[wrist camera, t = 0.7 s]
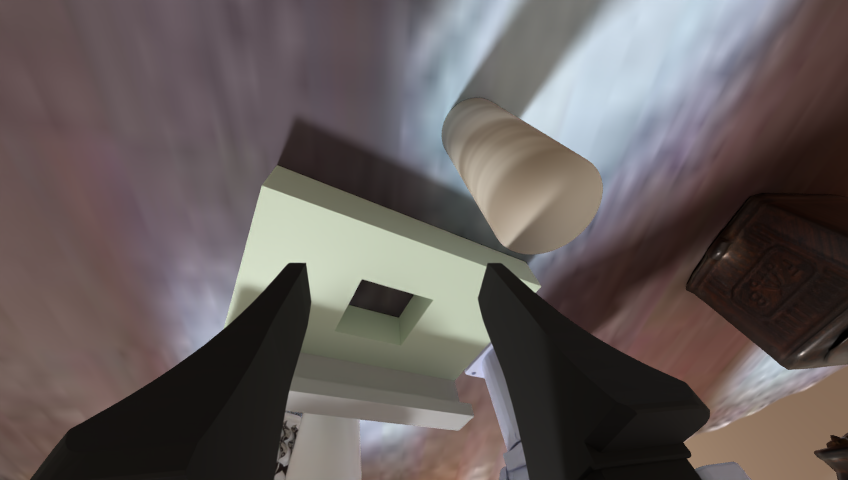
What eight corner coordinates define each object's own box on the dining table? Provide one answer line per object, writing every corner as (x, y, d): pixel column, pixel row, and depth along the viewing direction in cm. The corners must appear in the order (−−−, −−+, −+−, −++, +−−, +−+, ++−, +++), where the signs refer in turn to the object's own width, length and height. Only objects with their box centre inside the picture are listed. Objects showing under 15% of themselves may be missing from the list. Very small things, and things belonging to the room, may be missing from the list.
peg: (516, 117, 19) (626, 183, 11) (481, 173, 21) (551, 266, 12) (463, 84, 17) (541, 131, 9) (430, 147, 19) (470, 234, 11)
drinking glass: (298, 370, 30) (244, 605, 18) (368, 368, 31) (363, 586, 19) (303, 406, 34) (261, 622, 21) (365, 403, 35) (359, 605, 23)
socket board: (525, 262, 26) (568, 328, 20) (443, 359, 32) (458, 430, 26) (276, 164, 18) (232, 225, 13) (234, 314, 25) (192, 400, 19)
